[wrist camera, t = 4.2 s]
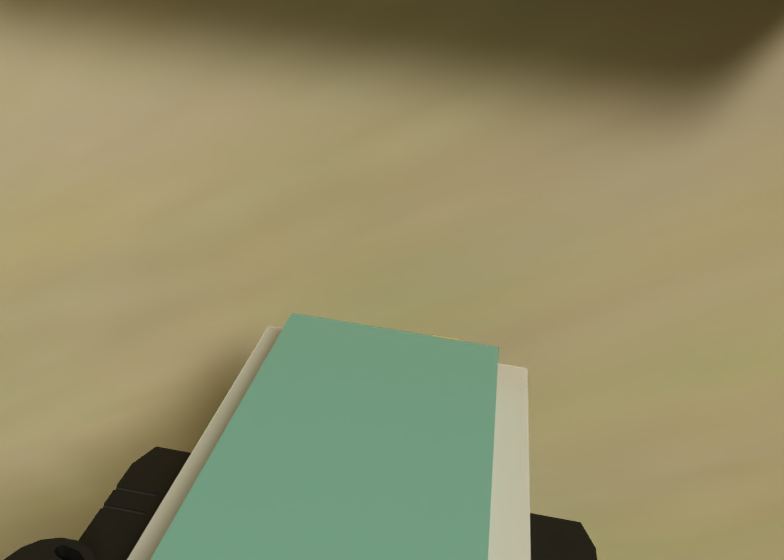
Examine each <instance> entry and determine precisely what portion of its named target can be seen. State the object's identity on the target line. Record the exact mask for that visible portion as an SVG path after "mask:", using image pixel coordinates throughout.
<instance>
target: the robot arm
mask: <svg viewBox="0 0 784 560" xmlns="http://www.w3.org/2000/svg"><path fill="white" fill-rule="evenodd" d="M282 329H283V328H279V327H273V326H268V327H267V329H266V330H265V332H264V333H263V335H262V337H261V338H260V340H259V342H258V343H257V345H256V347H255V348H254V350H253V352H252V353H251V355H250V357H249V358H248V360H247V362H246V363H245V365H244V367H243V368H242V370H241V372H240V373H239V375H238V377H237V378H236V380H235V382H234V383H233V385H232V387H231V388H230V390H229V391H228V393H227V395H226V396H225V398H224V400H223V401H222V403H221V405H220V406H219V408H218V410H217V411H216V413H215V415H214V416H213V418H212V420H211V421H210V423H209V425H208V426H207V428H206V430H205V431H204V433H203V435H202V436H201V438H200V440H199V441H198V443H197V445H196V446H195V448H194V449H193V451H192V453H188V452H183V451H177V450H172V449H166V448H161V447H155V448H154V449H152V450H151V451H150V452H148V453H147V454H145V455H144V456H142V457H141V458H140V459H138V460H137V461H135V462H134V463H133V464H132V465H131V466H130V468H129V469H128V470H127V472H126V473H125V475H124V476H123V478H122V479H121V480H120V482H119V483H118V485H117V488H116V490H113V492H112V493H111V495H110V496H109V498H108V499H107V500H106V502H105V503H104V507H103V509H102V508H101V509H100V510H99V512H98V513H97V515H96V516H95V518H94V519H93V520H92V522H91V523H90V525H89V526H88V528H87V529H86V530H85V532H84V533H83V535H82V536H81V538H80V539H79V541H76V540H71V539H65V538H54V539H45V540H40V541H37V542H34V543H32V544H29V545H27V546H24V547H21V548H20V549H18V550H17V551H16V552H14V553H13V554H11V555H10V556H9V557H7V558H6V559H4V560H150V559H151V557H152V556H153V554H154V552H155V550H156V549H157V547H158V545H159V543H160V542H161V540H162V538H163V537H164V535H165V533H166V531H167V530H168V528H169V526H170V524H171V523H172V521H173V519H174V517H175V516H176V514H177V512H178V510H179V509H180V507H181V505H182V503H183V502H184V500H185V498H186V496H187V495H188V493H189V491H190V490H191V488H192V486H193V484H194V483H195V481H196V479H197V477H198V476H199V474H200V472H201V470H202V469H203V467H204V465H205V463H206V462H207V460H208V458H209V456H210V455H211V453H212V451H213V450H214V448H215V446H216V444H217V443H218V441H219V439H220V437H221V436H222V434H223V432H224V430H225V429H226V427H227V425H228V423H229V422H230V420H231V418H232V416H233V415H234V413H235V411H236V409H237V408H238V406H239V404H240V403H241V401H242V399H243V397H244V396H245V394H246V392H247V390H248V389H249V387H250V385H251V383H252V382H253V380H254V378H255V376H256V375H257V373H258V371H259V369H260V368H261V366H262V364H263V362H264V361H265V359H266V357H267V356H268V354H269V352H270V350H271V349H272V347H273V345H274V343H275V342H276V340H277V338H278V336H279V335H280V333H281V331H282ZM488 560H597V556H596V548H595V546H594V545H593V543H592V541H591V539H590V538H589V536H588V534H587V533H586V531H585V529H584V527H583V526H582V524H581V522H575V521H570V520H564V519H559V518H554V517H548V516H543V515H537V514H532V513H530V485H529V426H528V368H523V367H517V366H511V365H505V364H499V363H498V372H497V391H496V411H495V430H494V450H493V470H492V489H491V509H490V529H489V548H488Z"/></svg>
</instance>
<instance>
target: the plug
mask: <svg viewBox="0 0 784 560" xmlns="http://www.w3.org/2000/svg"><path fill="white" fill-rule="evenodd" d="M498 352H499V347H496V346H490V345H484V344H478V343H472V342H466V341H461V339H456V338H450V337H444V336H438V335H432V336H429V335H423V334H417V333H411V332H405V331H398V330H392V329H386V328H380V327H374V326H368V325H362V324H356V323H350V322H343V321H337V320H331V319H325V318H319V317H313V316H307V315H301V314H294V313H292V314H291V315H290V317H289V319H288V321H287V322H286V324H285V326H284V328H283V329H282V331H281V333H280V335H279V336H278V338H277V340H276V342H275V343H274V345H273V347H272V349H271V350H270V352H269V354H268V356H267V357H266V359H265V361H264V362H263V364H262V366H261V368H260V369H259V371H258V373H257V375H256V376H255V378H254V380H253V382H252V383H251V385H250V387H249V389H248V390H247V392H246V394H245V396H244V397H243V399H242V401H241V403H240V404H239V406H238V408H237V409H236V411H235V413H234V415H233V416H232V418H231V420H230V422H229V423H228V425H227V427H226V429H225V430H224V432H223V434H222V436H221V437H220V439H219V441H218V443H217V444H216V446H215V448H214V450H213V451H212V453H211V455H210V456H209V458H208V460H207V462H206V463H205V465H204V467H203V469H202V470H201V472H200V474H199V476H198V477H197V479H196V481H195V483H194V484H193V486H192V488H191V490H190V491H189V493H188V495H187V496H186V498H185V500H184V502H183V503H182V505H181V507H180V509H179V510H178V512H177V514H176V516H175V517H174V519H173V521H172V523H171V524H170V526H169V528H168V530H167V531H166V533H165V535H164V537H163V538H162V540H161V542H160V543H159V545H158V547H157V549H156V550H155V552H154V554H153V556H152V557H151V559H150V560H488V548H489V529H490V509H491V489H492V470H493V450H494V430H495V411H496V391H497V372H498Z"/></svg>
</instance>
